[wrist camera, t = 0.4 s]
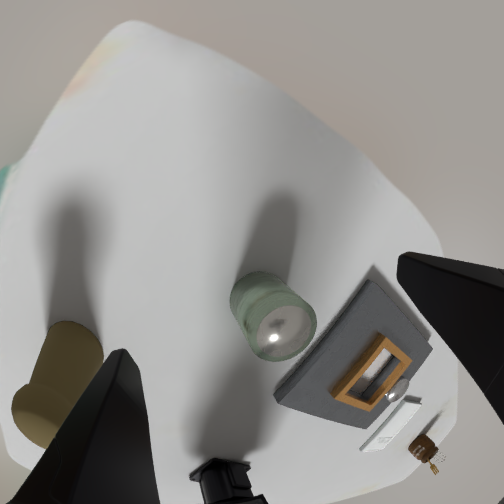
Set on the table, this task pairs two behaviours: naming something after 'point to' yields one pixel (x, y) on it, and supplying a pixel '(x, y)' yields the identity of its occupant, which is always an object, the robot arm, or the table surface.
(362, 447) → the external hard drive
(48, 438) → the cork
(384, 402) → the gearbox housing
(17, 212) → the table surface
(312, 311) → the can
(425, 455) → the utensil holder
